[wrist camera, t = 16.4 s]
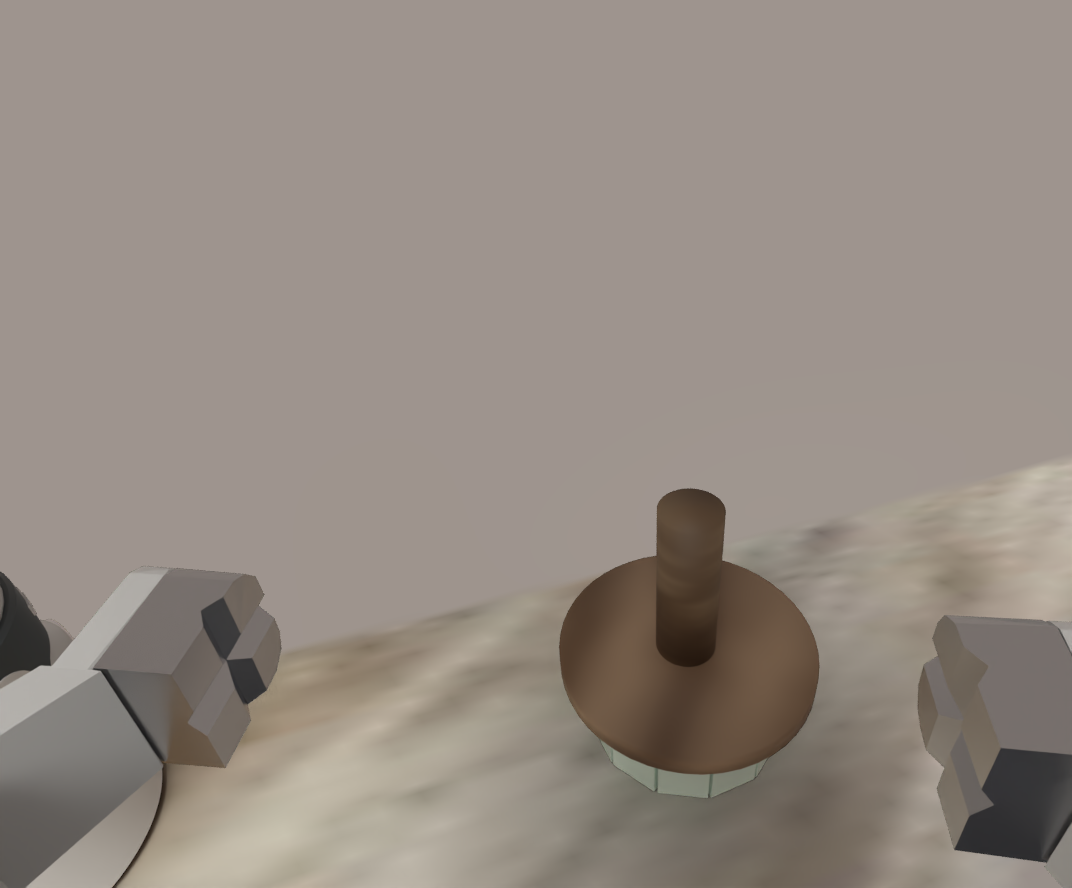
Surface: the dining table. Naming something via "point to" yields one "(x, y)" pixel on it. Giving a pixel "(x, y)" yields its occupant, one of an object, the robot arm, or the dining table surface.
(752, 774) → the celadon bowl
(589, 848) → the dining table surface
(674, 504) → the walnut lid
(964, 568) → the dining table surface
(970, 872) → the dining table surface
